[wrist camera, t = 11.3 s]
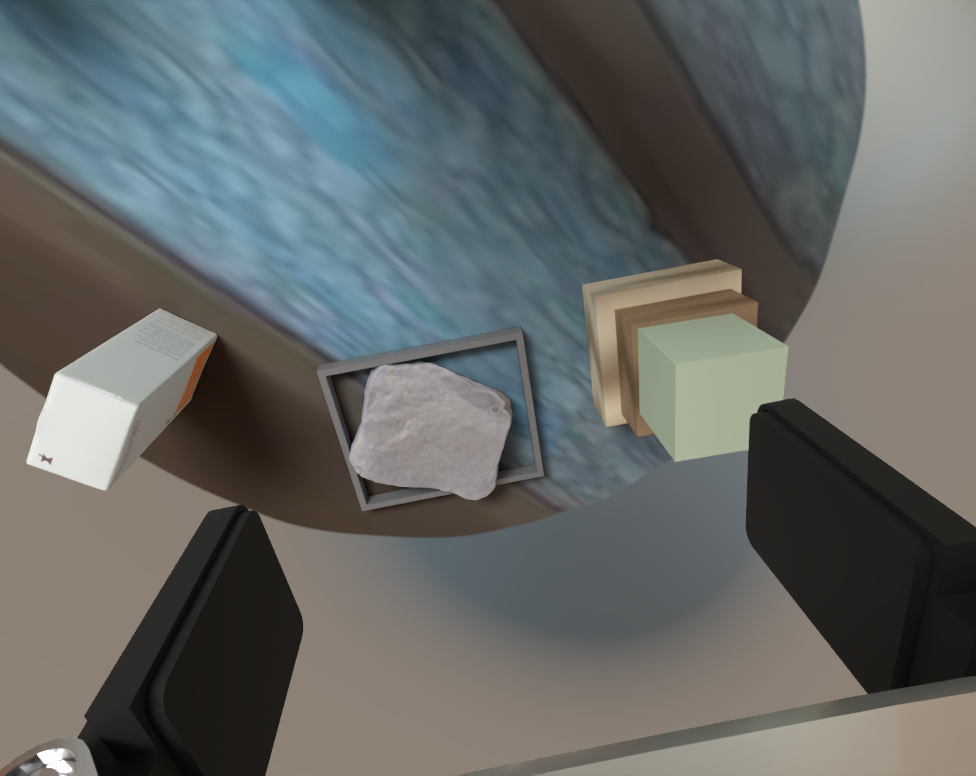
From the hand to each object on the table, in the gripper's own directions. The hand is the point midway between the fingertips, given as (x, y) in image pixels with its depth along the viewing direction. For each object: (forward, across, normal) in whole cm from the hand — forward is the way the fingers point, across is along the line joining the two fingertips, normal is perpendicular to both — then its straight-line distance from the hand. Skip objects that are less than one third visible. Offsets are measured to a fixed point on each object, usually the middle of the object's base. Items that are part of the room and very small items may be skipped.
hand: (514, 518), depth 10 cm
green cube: (+23, -13, +9) cm, 28 cm away
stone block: (+31, +4, +13) cm, 34 cm away
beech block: (+31, -13, +10) cm, 35 cm away
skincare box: (+31, +21, +4) cm, 37 cm away
